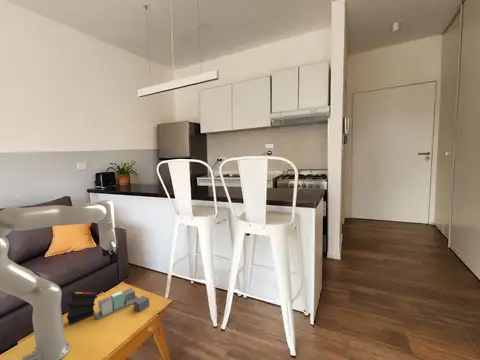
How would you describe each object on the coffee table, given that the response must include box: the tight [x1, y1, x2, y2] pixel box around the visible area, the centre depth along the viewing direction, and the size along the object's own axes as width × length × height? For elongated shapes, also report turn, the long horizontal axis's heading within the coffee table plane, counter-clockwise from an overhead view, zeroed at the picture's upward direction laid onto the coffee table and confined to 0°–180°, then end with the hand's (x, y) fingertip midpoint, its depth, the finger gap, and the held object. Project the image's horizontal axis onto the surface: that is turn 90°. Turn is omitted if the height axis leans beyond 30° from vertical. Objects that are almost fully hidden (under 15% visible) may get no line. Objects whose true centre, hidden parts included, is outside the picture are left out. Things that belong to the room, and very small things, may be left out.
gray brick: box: [133, 295, 150, 313], centre depth 137 cm, size 6×5×4 cm
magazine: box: [66, 290, 98, 326], centre depth 129 cm, size 4×13×15 cm, turn 135°
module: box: [110, 290, 124, 310], centre depth 137 cm, size 5×4×7 cm
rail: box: [93, 287, 139, 321], centre depth 137 cm, size 22×5×7 cm, turn 136°
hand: (109, 258), depth 128 cm, fingers open, 9 cm apart
